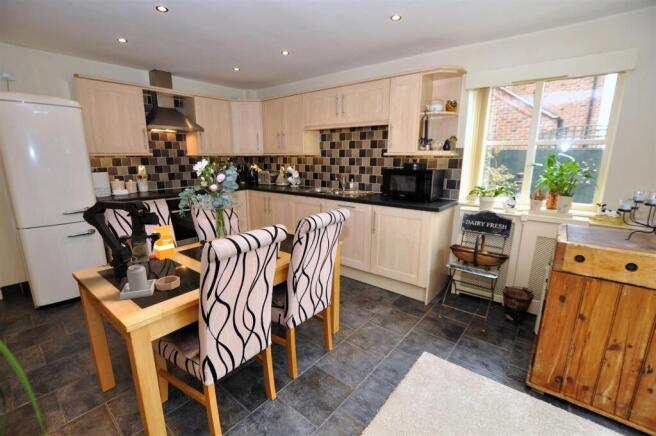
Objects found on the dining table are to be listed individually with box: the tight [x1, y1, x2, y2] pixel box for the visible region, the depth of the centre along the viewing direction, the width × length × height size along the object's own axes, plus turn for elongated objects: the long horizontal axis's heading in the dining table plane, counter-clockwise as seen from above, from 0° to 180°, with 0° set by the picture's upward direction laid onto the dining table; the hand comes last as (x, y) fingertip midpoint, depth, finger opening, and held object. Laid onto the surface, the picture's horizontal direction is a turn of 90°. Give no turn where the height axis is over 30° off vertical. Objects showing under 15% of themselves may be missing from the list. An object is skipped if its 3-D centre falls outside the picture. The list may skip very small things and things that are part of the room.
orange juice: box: [153, 224, 175, 261], centre depth 193 cm, size 8×9×20 cm
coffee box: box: [129, 235, 150, 264], centre depth 186 cm, size 9×6×16 cm
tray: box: [119, 278, 157, 301], centre depth 145 cm, size 13×13×3 cm
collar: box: [155, 275, 181, 291], centre depth 152 cm, size 10×10×3 cm
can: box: [126, 264, 148, 292], centre depth 144 cm, size 8×8×12 cm
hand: (142, 253), depth 162 cm, fingers open, 9 cm apart
